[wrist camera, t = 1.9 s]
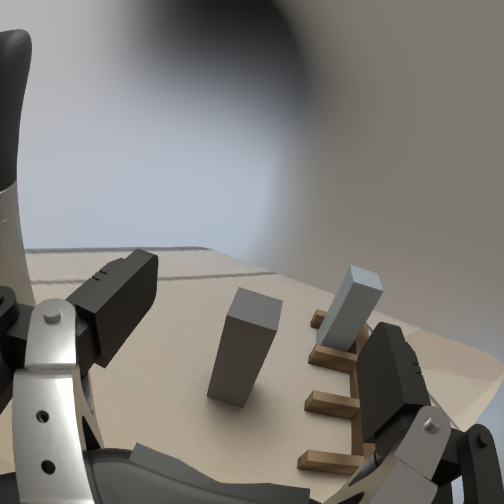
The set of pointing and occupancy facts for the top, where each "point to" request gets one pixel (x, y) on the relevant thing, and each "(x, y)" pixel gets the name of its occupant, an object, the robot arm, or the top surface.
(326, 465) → the cable comb
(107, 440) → the top surface
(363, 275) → the slate plug
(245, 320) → the grey tall rectangular block
